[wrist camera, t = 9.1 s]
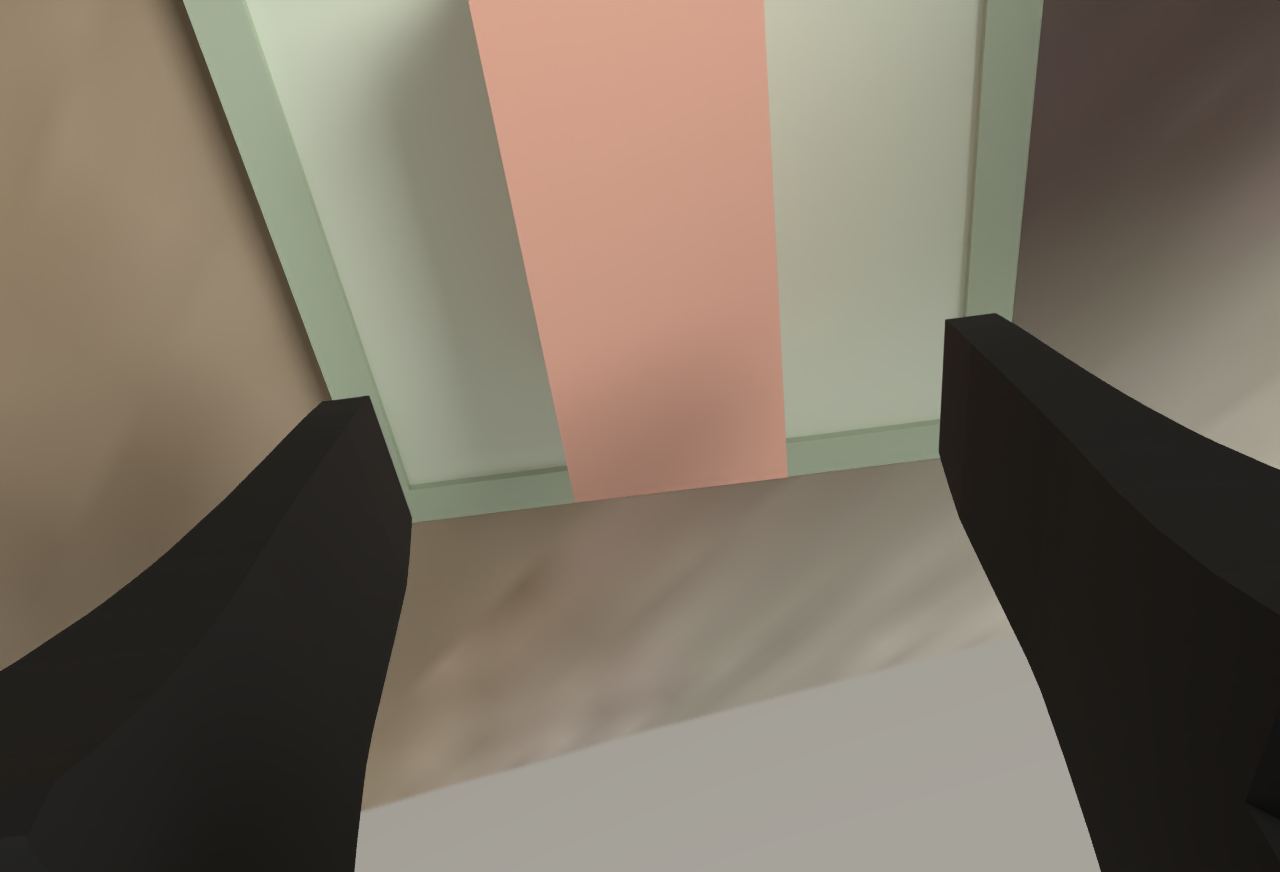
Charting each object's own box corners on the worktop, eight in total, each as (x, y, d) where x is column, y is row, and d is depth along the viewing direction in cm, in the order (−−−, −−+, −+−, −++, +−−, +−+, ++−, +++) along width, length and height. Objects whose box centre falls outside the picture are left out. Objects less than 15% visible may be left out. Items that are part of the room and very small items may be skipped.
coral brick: (726, -101, 17) (761, -42, 14) (757, 349, 23) (787, 477, 19) (494, -66, 18) (468, 0, 14) (577, 372, 23) (574, 502, 19)
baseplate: (1064, -413, 16) (1083, -417, 15) (989, 431, 25) (999, 450, 24) (108, -258, 16) (88, -255, 16) (384, 505, 26) (379, 527, 25)
